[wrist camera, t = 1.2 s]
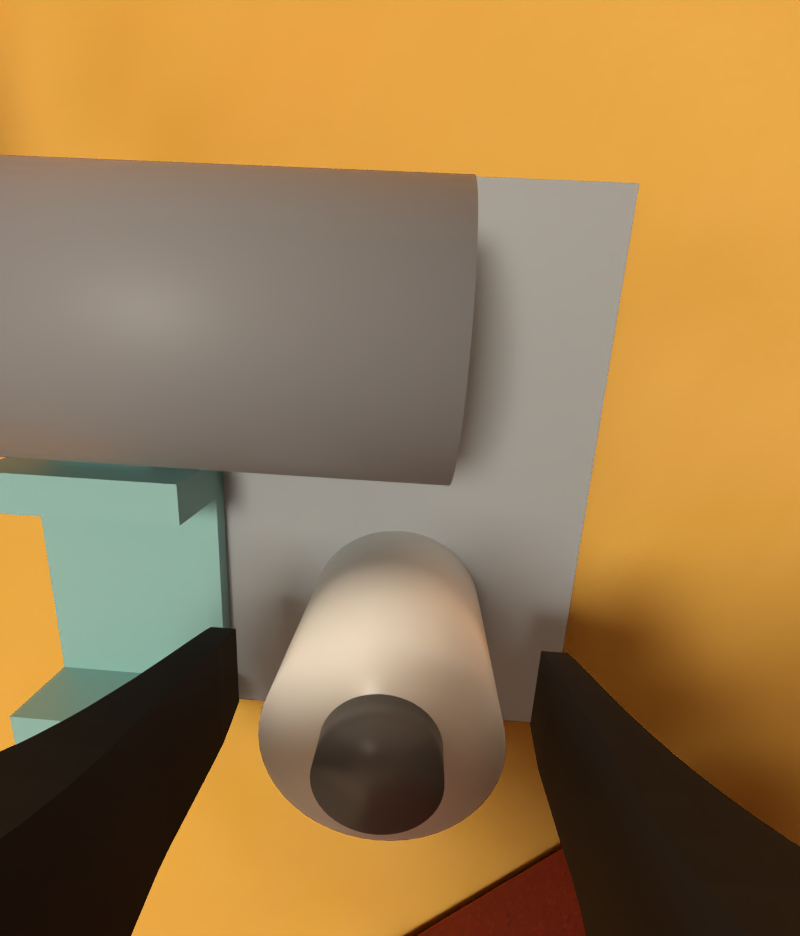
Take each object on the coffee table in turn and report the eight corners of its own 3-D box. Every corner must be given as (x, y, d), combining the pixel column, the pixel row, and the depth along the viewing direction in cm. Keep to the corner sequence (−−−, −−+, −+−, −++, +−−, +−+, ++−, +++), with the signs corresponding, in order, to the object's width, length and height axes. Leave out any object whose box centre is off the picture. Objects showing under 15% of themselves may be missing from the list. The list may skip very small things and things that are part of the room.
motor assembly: (624, 193, 12) (847, 32, 6) (544, 705, 16) (622, 943, 10) (-62, 164, 12) (-550, -10, 6) (27, 663, 16) (-215, 862, 10)
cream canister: (486, 536, 13) (529, 679, 8) (470, 682, 15) (498, 893, 9) (315, 525, 14) (238, 656, 8) (314, 669, 15) (247, 870, 9)
